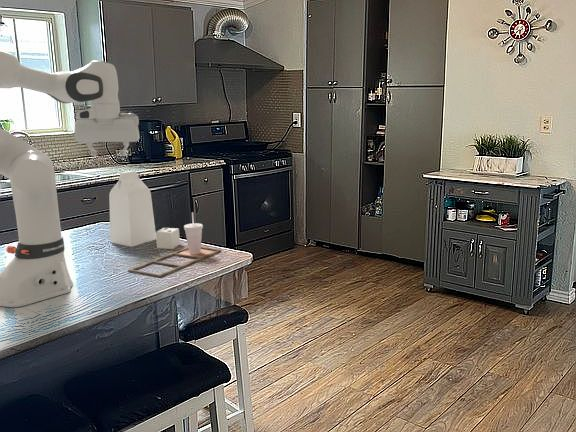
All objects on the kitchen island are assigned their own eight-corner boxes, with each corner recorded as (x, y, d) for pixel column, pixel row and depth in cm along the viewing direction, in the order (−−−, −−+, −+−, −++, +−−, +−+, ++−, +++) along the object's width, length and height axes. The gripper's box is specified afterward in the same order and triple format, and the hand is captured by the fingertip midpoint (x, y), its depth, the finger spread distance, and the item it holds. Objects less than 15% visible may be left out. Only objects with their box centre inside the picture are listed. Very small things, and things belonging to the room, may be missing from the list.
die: (172, 249, 203) (171, 232, 202) (157, 248, 204) (155, 231, 203) (179, 244, 209) (178, 228, 207) (164, 243, 210) (163, 227, 209)
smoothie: (203, 249, 200) (201, 210, 197) (205, 254, 194) (203, 214, 191) (184, 251, 199) (182, 211, 196) (186, 256, 193) (183, 215, 190)
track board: (160, 277, 172) (159, 275, 172) (128, 271, 178) (128, 269, 178) (221, 251, 198) (221, 249, 198) (191, 247, 204) (191, 245, 204)
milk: (135, 235, 223) (130, 168, 217) (156, 239, 216) (151, 170, 211) (110, 242, 213) (104, 172, 207) (131, 246, 207) (125, 174, 201)
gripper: (140, 112, 189) (142, 154, 192) (77, 112, 188) (80, 154, 191) (136, 113, 183) (138, 156, 186) (71, 113, 182) (74, 157, 185)
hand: (108, 155), depth 189 cm, fingers open, 8 cm apart
